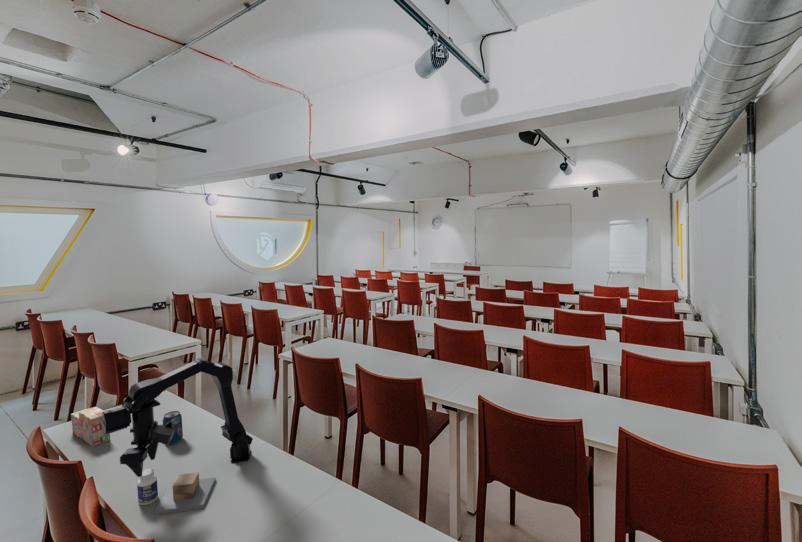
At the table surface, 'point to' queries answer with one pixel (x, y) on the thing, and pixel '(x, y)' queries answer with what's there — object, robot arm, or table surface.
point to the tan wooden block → (186, 486)
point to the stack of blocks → (89, 425)
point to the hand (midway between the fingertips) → (146, 467)
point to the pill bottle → (147, 487)
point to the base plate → (185, 504)
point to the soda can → (177, 420)
